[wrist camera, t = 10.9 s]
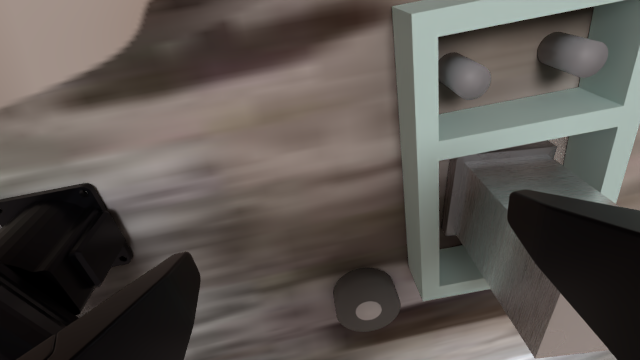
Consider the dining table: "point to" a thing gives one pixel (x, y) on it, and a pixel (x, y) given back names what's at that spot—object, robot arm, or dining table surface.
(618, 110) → the frame
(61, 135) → the dining table surface
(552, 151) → the gray rectangular block
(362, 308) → the loose wheel
